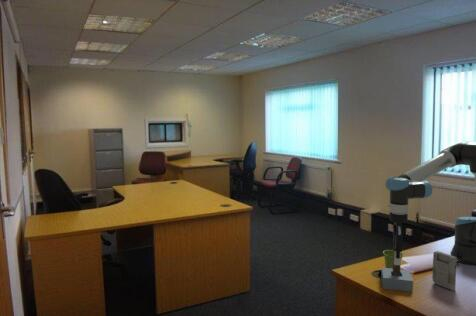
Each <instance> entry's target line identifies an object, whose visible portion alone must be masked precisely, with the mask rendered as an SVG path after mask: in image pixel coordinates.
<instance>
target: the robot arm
mask: <svg viewBox="0 0 476 316" xmlns="http://www.w3.org/2000/svg"><path fill="white" fill-rule="evenodd" d="M456 166H469V171H470V173H471V174H473V175H474V182H475V185H476V141H463V142H459V143H456V144H453V145H451V146H448V147H447V148H444V149H442V150H441V151H440V152H439V154H438V155H437V154H436V155H435V156H433V157H432V158H430V159H428V160H427V161H425V162H422V163H420V164H418V165H417V166H415V167H413V168H411V169H410V170H408V171H406V172H403V173H402V174H400V175H398V176H389V177H388V178H386V180H385V188H386V189H387V191H389V204H388V206H387V207H389V214H388V215H389V218H388V220H389V221H390V222H392V223H393V224H392V229H393V231H392V232H393V233H392V236H393V238H392V244H393V245H392V246H395V249H393V248H392V250H393V251H394V265H402V263H401V261H402V259H401V253H403V252H402V251H403V234H404V226H403V224H406V223H407V222H408V216H409V215H408V213H409V200H412V199H413V200H414V199H426V198H429V197H431V196H432V194H433V186H432V184H431V183H430V182H428V181H427V179H429V178H431V177H432V176H435V175H437V174H439V173H440V172H442V171H444V170H446V169H448V168H450V169H451V168H454V167H456ZM450 254H451V255H452V256H455V257H457V260H458V262H457V263H460V264H463V265H464V264H465V265H469V266H470V265H471V266H476V216H459V217H457V218H456V219H455V224H454V244H453V246H452V248H451V251H450ZM450 254H449V255H450Z"/></svg>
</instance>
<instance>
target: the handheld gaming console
mask: <svg viewBox="0 0 476 316" xmlns="http://www.w3.org/2000/svg"><path fill="white" fill-rule="evenodd" d="M432 260H433V261H432V278H431V279H432V281H433V283H434V284H435V285H438V286H440V287H443V288H445V289H448V290H451V291H455V290H456V282H457V263H458V262H457V257H455V256H452V255H450V254H448V253H445V252H442V251H439V250H436V251H434V252H433V259H432Z"/></svg>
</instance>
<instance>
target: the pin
mask: <svg viewBox="0 0 476 316" xmlns="http://www.w3.org/2000/svg"><path fill="white" fill-rule="evenodd" d="M392 246H393V245H392ZM393 249H395V246H393V247H392V250H393ZM401 265H402V264H401ZM401 265H394V251H393V273H396V274H399V273H400V269H401Z"/></svg>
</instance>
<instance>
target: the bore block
mask: <svg viewBox="0 0 476 316" xmlns="http://www.w3.org/2000/svg"><path fill="white" fill-rule="evenodd" d="M380 271H381V274H380V278H381V283H382V288H383V289H384V290H385V289H386V290H393V291H394V290H395V291H401V292H402V291H403V292H411V293H413V292H414V291H413V290H414V280H413V277H412V274H411V272H410V270H409V269H401V268H400V273H399V274H396V273H393V269H392V268H386V267H381V270H380Z"/></svg>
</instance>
